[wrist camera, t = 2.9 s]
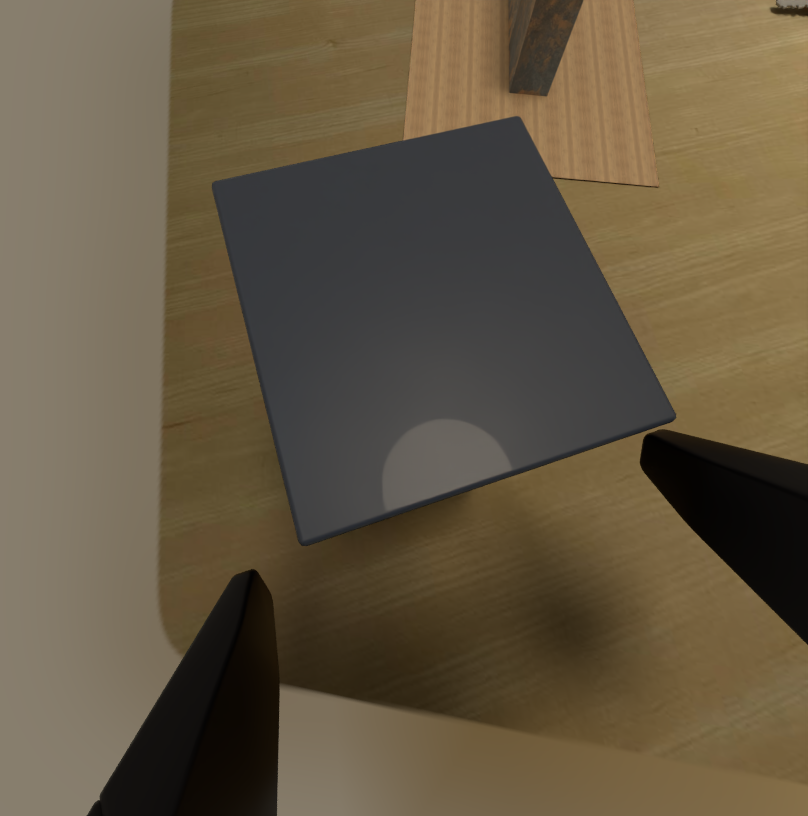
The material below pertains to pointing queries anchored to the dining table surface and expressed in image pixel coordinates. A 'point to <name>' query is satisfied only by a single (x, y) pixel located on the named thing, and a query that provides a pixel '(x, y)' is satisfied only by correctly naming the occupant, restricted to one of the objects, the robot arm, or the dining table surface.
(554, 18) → the architectural model on board
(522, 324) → the charcoal gray box
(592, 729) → the dining table surface
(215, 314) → the dining table surface
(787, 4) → the key chain
